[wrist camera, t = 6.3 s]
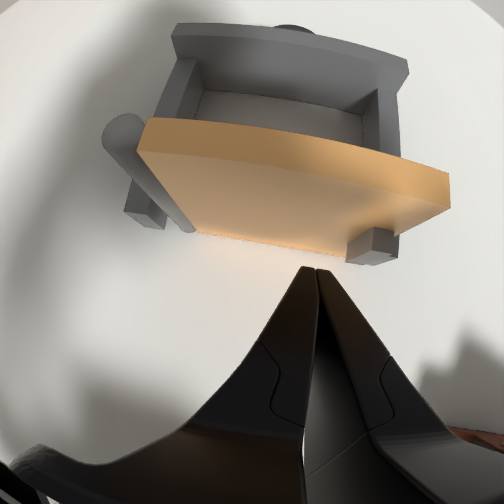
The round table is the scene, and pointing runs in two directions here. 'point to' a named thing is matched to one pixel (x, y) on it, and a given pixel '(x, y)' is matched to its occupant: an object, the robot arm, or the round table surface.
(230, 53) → the grey cabinet body
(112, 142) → the side door
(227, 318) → the round table surface
